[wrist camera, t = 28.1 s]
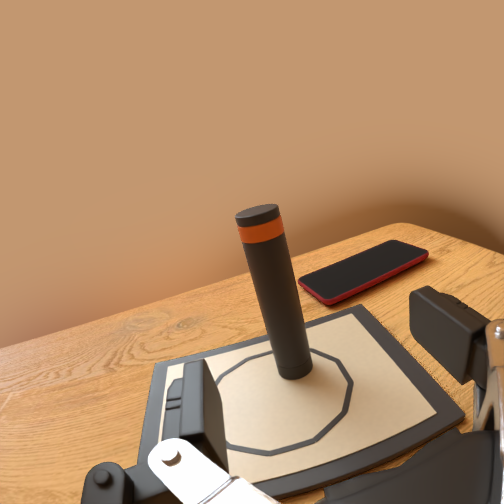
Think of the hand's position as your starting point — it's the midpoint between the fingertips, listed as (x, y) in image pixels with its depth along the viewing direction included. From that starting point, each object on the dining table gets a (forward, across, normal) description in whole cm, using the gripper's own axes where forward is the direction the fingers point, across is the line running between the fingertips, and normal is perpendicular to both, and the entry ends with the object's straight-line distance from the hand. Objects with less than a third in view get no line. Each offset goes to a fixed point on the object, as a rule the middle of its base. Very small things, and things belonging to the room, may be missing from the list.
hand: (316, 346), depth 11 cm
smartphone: (+22, -12, +9) cm, 26 cm away
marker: (+9, 0, +8) cm, 12 cm away
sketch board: (+7, +2, +9) cm, 12 cm away
